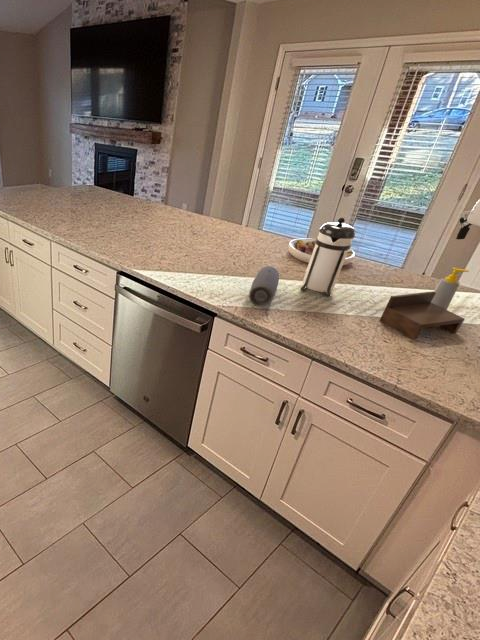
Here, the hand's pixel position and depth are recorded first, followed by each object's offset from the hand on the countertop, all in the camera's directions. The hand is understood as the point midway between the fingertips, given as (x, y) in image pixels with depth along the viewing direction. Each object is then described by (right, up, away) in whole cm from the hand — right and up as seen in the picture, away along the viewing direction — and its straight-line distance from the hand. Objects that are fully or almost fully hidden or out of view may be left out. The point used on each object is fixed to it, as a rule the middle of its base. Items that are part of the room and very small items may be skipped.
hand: (473, 243), depth 141 cm
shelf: (-13, -28, +9) cm, 32 cm away
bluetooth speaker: (-63, -16, +24) cm, 69 cm away
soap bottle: (+2, -22, +20) cm, 29 cm away
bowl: (-17, +10, +67) cm, 69 cm away
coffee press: (-36, -10, +34) cm, 51 cm away
